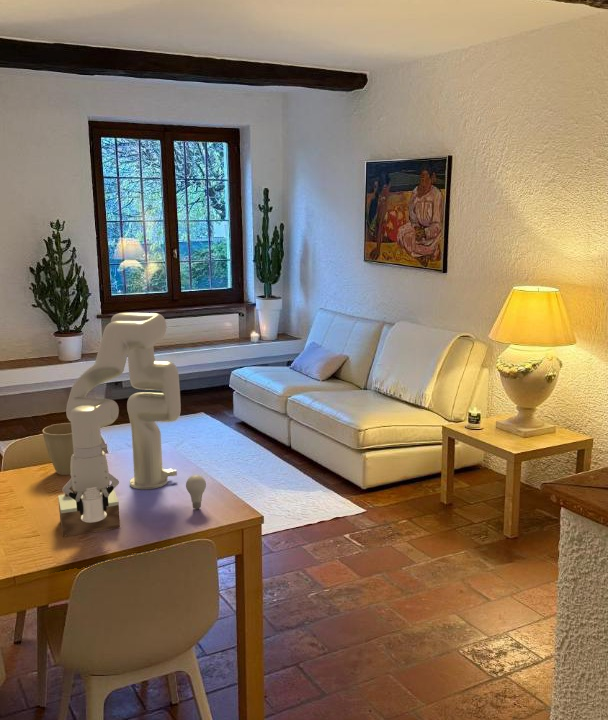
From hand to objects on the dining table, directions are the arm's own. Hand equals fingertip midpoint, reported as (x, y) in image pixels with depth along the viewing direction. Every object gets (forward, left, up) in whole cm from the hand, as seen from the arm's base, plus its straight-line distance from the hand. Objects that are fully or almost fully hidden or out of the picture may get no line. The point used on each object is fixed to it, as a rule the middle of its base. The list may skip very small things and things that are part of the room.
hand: (93, 510), depth 209 cm
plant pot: (+3, -60, -8) cm, 60 cm away
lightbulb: (-32, -9, -8) cm, 34 cm away
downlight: (0, 0, -2) cm, 2 cm away
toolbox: (0, -10, -8) cm, 13 cm away
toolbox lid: (0, -10, -1) cm, 10 cm away
